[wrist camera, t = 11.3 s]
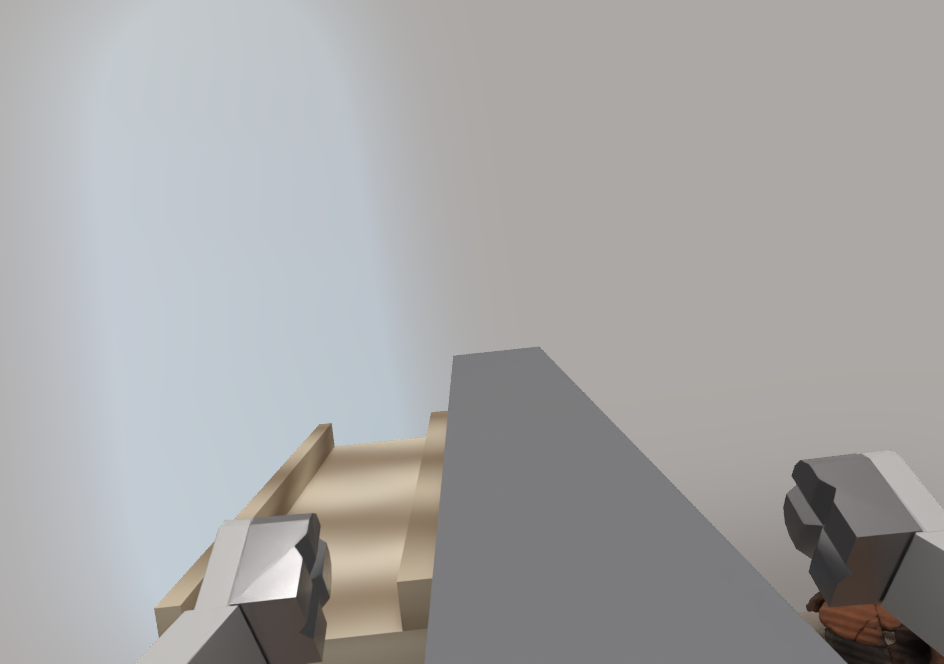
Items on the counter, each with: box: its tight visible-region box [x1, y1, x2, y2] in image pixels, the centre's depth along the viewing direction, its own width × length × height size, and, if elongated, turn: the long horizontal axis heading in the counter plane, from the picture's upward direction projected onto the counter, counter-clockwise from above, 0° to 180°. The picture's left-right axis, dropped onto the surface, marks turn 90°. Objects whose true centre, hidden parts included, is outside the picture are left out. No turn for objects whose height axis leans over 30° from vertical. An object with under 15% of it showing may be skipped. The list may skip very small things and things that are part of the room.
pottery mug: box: [806, 592, 944, 664], centre depth 50 cm, size 12×10×8 cm
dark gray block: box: [424, 347, 847, 664], centre depth 18 cm, size 26×4×4 cm, turn 1°
